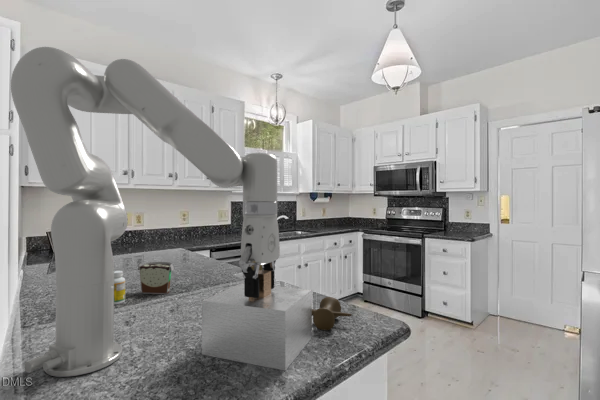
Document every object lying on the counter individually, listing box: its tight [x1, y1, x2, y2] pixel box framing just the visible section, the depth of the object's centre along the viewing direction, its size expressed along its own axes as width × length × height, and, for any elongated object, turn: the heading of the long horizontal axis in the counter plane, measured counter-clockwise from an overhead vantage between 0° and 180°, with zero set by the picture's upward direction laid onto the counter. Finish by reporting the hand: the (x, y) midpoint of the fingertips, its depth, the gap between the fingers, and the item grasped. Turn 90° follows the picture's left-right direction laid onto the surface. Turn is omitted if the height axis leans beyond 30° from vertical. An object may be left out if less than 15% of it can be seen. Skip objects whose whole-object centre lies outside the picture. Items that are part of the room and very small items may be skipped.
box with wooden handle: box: [201, 270, 313, 372], centre depth 70 cm, size 16×19×16 cm
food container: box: [137, 261, 174, 295], centre depth 114 cm, size 12×6×10 cm, turn 84°
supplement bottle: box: [114, 270, 126, 306], centre depth 101 cm, size 5×5×10 cm
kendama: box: [312, 296, 353, 331], centre depth 84 cm, size 6×10×20 cm
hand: (260, 291), depth 70 cm, fingers open, 6 cm apart
